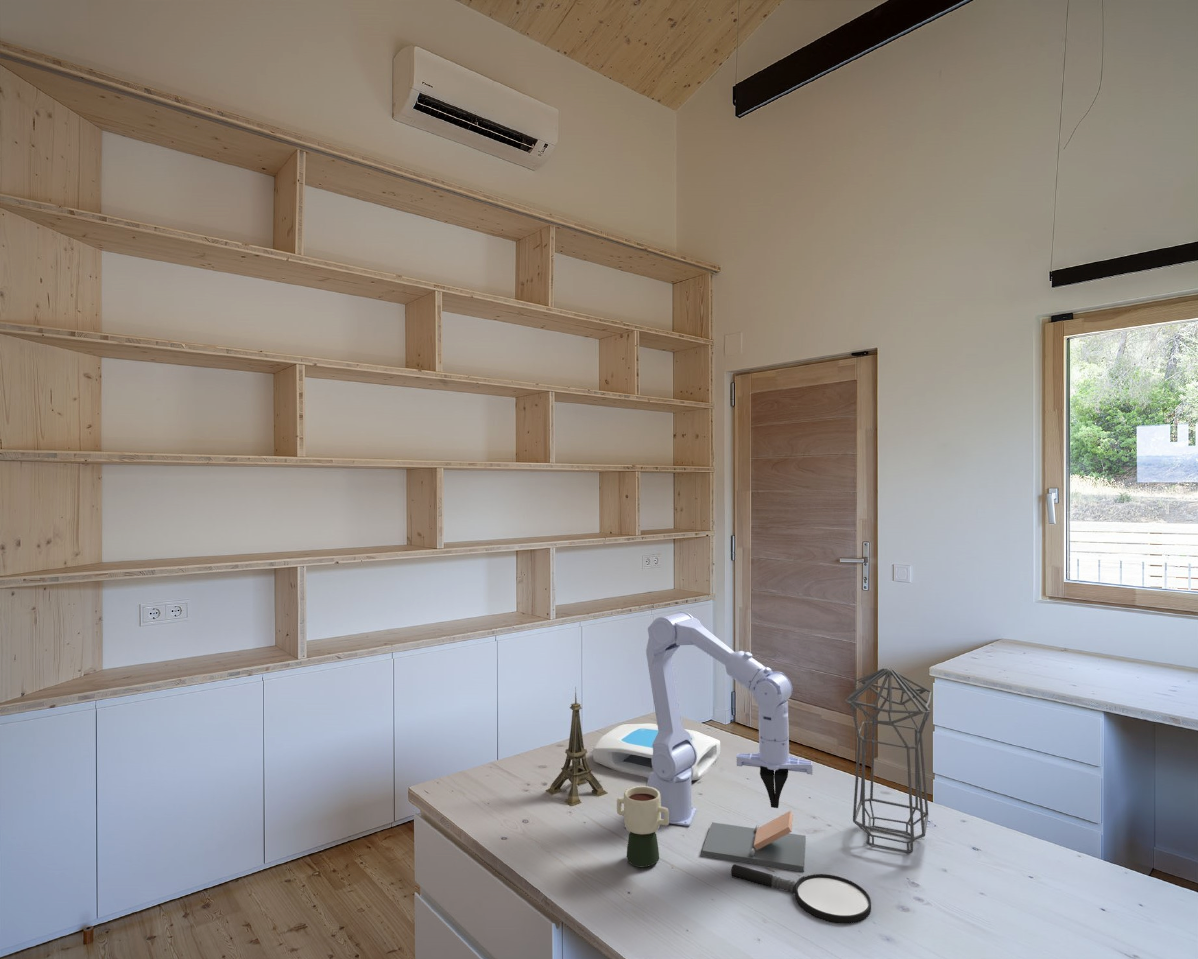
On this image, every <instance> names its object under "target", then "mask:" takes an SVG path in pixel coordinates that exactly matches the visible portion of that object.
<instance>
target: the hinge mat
mask: <svg viewBox="0 0 1198 959" xmlns="http://www.w3.org/2000/svg"><path fill="white" fill-rule="evenodd" d="M759 827H760V825H755V828H754V827H747V826H740V825H733V824H727V823H719V822H711V824H710V828H709V830H708V833H707V836H706V839H705V842H704V843H703V847H702V850H701V852H702V854H701V855H702V857H707V858H714V859H715V858H716V859H720V860H721V859H722V860H726V861H727V860H728V861H733V862H734V861H735V862H739V863H746V864H750V865H751V864H752V865H758V866H759V865H760V866H764V867H770V868H771V867H772V868H777V869H784V870H789V871H796V872H802V873H804V872H805V871H804V870H805V858H806V855H805V854H806V842H807V841H806V839H807V838H806V835H803V834H796V833H792V832H790V833H788V834H786V835H785V836H783V837H781V838H779V839H777V840H775V841H773V842H771V843H770V844H768V845H766V846H764V847H762V848H760V849H758V850H756V848H755V847H754V842H755V837H756V832H757V829H758V828H759Z"/></svg>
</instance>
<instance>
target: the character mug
mask: <svg viewBox="0 0 1198 959" xmlns="http://www.w3.org/2000/svg"><path fill="white" fill-rule="evenodd" d="M622 804H623V806H622ZM622 808H623V809H622ZM616 812H617V814H618V815H619V816H623V822H624V825H625V829H626V830H627V831H628V832H629V833H628V839H627V848H626V859H627V861H628V863H630V865H632V866H635V867H639V868H644V867H646V868H647V867H650V866H653V865H655V864H656V863H657V862H659V860H660V851H659V844H658V836H657V833H656V832H657V830H659V829H660V826H661V825H662V826H669V824H670V823H669V811H668V809H667V808H665V807H661V796H660V793H659V791H658V790H657V789H655V788H652V787H648V785H639V786H638V785H637V786H633V787H629V788H628V789H626V790H625V791H624V793H623V797H618V798H616ZM661 812H663V813H664V820H663V819H661Z"/></svg>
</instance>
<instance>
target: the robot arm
mask: <svg viewBox="0 0 1198 959" xmlns="http://www.w3.org/2000/svg"><path fill="white" fill-rule="evenodd" d="M647 634H648V640H647V644H646V650H645V652H646V653H645V655H646V659H647V666H648V667H647V668H648V674H649V679H650V685H651V692H652V699H653V704H654V710H655V711H654V712H655V718H656V723H657V726H658V734H657V736H656V738H655V740H654V742H653V744H652V746H653V755H652V758H651V760H650V761H651V767H652V768H653V770H654V772H651V773H650V775H649V777H648V779H647V786H648V787H652V788H655V789H657V790H658V791H659V793H660V796H661V807H665V808H667V809H668V811H669V824H673V825H679V826H685V827H686V826H687V827H690V826H691V824H692V822H693V819H694V817H695V814H696V812H697V808H696V807H693V806H692V805H693V804H692V800H693V799H692V780H691V772H692V766H693V765H694V764H695V763H696V761H697V752H696V749H695V747H694V745H693V743H692V741H691V736H690V733H688V732H687V731H686V730H685V728H684V726H683V720H682V714H681V708H680V703H679V702H680V700H679V695H678V689H677V683H676V676H675V671H674V670H675V669H674V665H673V664H674V663H673V657H672V656H673V655H674V654H675V652H677V650H678V649H679V648H680V646H695V647H697V648H698V649H700V650H701V651H702V652H704V653H706V654H707V655H709V656H710V657H712V658H713V659H715V660H716V661H718V662H719V663H720V664H723V665H724V667H725V672H726V674H727V675H728V676H729V677H731V678H732V679H733V680H735V681H736V682H737V683H738V684H740V685H742V686H743V687H744V688H745V689H747V690H748V691H749V692H751V693H752V696H753V698H754V701H755V702H756V704H757V707H758V708H757V710H758V744H759V745H758V749H759V750H758V751H759V752H758V753H757V752H756V753H754V752H753V753H751V752H750V753H747V752H746V753H745V752H744V753H742V752H737V754H736V767H743V766H745V767H756V768H759V769H760V770H759V775H760V779H761V781H763V782H762V783H763V784H764V786H765V789H766V791H767V795H768V799H769V803H770V808H774V809H779V806H780V797H781V794H782V791H783V789H784V787H785V784H786V782H787V779H788V776H789V772H798V773H804V774H805V773H806V774H807V775H811V776H812V775H813V771H814V768H813V761H812V760H806V759H802V758H799V757H798V758H797V757H793V756H790V749H789V748H790V743H789V741H790V740H789V737H790V736H789V731H790V729H789V701H788V700H789V699H790V698H791V697H792V695H793V691H794V690H793V685H792V681H791V680H790V678H789V677H788V676H786V674H785V673H784V672H781V671H773V670H772V668H770V667H768V666H765V665H763V664H762V663H761V662H759V661H757V660H756V659H755V658H753V654H752V653H751V652H749V651H746V652H745V651H743V650H739V651H734V650H733V649H732V648H731V647H729V646H728V645H727V644H726V643H725V642H723V641H722V640H721V639H720V638H719V637H717V636H716V635H714V634H713V633H712V632H711V631H710V630H708V629H707V628H706V627H705V626H703V625H702V623H701V621H700V620H699V618H696V617H693V615H691V614H690V613H689V612H687V611H679V612H676V613H674V614H670V615H667V616H660V617H656V618H655V619H654V620H653V621H652V623H651V624H649V626H648V627H647ZM661 819H663V820H664V813H663V812H661Z"/></svg>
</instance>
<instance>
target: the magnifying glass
mask: <svg viewBox="0 0 1198 959" xmlns="http://www.w3.org/2000/svg"><path fill="white" fill-rule="evenodd" d="M730 870H731V871H730V875H731V877H732V878H735V879H738V880H742V881H745V882H749V883H752V884H757V885H758V886H759V885H761V886H764V887H767V888H773V889H777V890H782V891H785V892H787V893H791V894H794V900H795V902H796V904H797V905H798V907H799V908H800V909H801V910H802V911H804V912H805V913H806V914H808V915H810V916H811V917H814V918H815V919H819V920H821V921H823V922H827V923H832V924H838V925H848V924H849V925H851V924H857V923H860V922H863V921H864V920H866V919H867V918H868V917H869V916H870V914H871V913H872V900H871V897H870V895H869V893H868V892H867V891H866V889H864V888H863V887H861V886H860V885H859V884H857V883H856V882H853V881H851V880H850V879H848V878H844V877H841V876H838V875H835V874H834V875H833V874H827V873H826V874H825V873H823V874H822V873H815V874H809V875H804V876H801V877H799V878H798V879H797V880H796V882H795V881H794V880H793V881H792V880H791V879H788V880H787V879H784V878H781V877H780V876H779V877H777V876H775V875H773V874H771V873H767V872H763V871H760V870H756V869H754V868H753V869H752V868H749V867H746V866H742V865H739V864H732V866H731V869H730Z"/></svg>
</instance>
